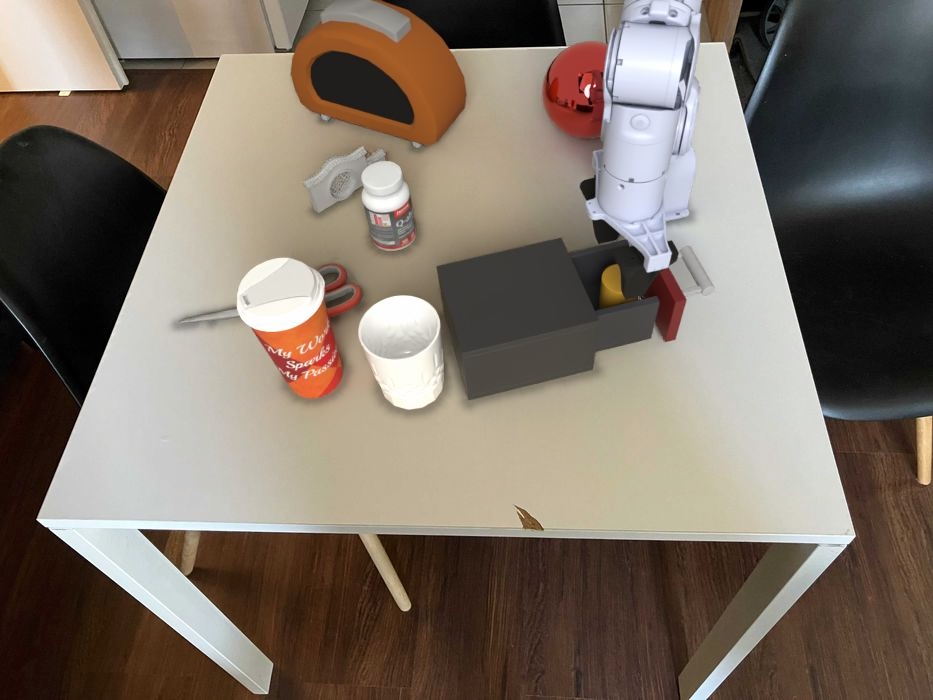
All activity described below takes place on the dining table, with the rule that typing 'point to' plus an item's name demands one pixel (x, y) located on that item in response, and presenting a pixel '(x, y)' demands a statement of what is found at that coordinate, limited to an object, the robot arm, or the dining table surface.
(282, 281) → the coffee cup
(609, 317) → the drawer
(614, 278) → the yellow cylinder
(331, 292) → the scissors
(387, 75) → the alarm clock
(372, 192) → the pill bottle
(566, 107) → the ball
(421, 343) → the white cup
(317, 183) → the lattice window wall
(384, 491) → the dining table surface
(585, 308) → the dark drawer box
